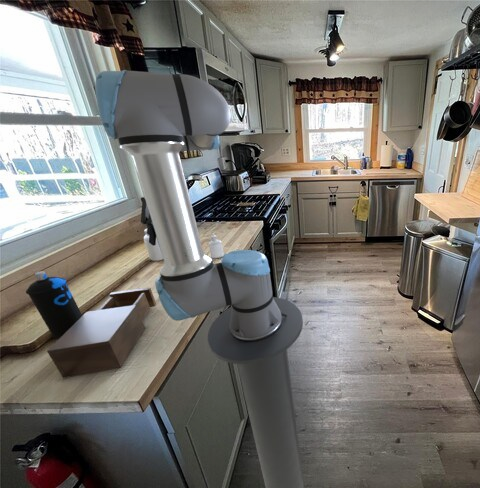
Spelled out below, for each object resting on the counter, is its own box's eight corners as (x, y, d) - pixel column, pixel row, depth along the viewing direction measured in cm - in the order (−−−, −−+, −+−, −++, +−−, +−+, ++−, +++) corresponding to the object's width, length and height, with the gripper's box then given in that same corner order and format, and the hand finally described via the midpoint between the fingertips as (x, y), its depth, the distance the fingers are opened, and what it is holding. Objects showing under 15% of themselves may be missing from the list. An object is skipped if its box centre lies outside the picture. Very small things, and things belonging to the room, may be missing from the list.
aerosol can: (45, 342, 75) (9, 283, 67) (60, 324, 82) (29, 269, 74) (80, 333, 78) (50, 276, 70) (91, 317, 85) (65, 263, 77)
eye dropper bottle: (221, 258, 122) (216, 235, 117) (210, 258, 123) (204, 235, 118) (225, 254, 126) (220, 231, 121) (215, 254, 127) (209, 231, 122)
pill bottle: (156, 262, 121) (146, 232, 115) (147, 259, 124) (136, 230, 118) (172, 256, 127) (164, 227, 121) (163, 252, 131) (154, 224, 125)
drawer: (124, 302, 90) (117, 285, 88) (160, 297, 92) (155, 280, 90) (94, 338, 74) (84, 319, 72) (139, 331, 76) (131, 312, 74)
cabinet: (98, 335, 77) (86, 311, 73) (145, 328, 79) (136, 304, 75) (63, 378, 63) (46, 351, 60) (121, 367, 66) (108, 341, 62)
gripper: (194, 186, 96) (194, 244, 88) (142, 190, 93) (137, 250, 85) (187, 174, 89) (186, 235, 81) (130, 177, 86) (123, 241, 78)
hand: (161, 242), depth 83 cm, fingers closed on bottle, 5 cm apart
